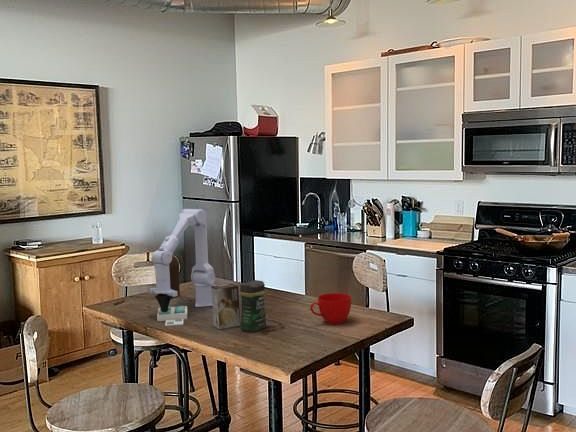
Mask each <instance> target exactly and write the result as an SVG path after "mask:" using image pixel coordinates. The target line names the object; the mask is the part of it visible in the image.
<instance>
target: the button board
mask: <svg viewBox="0 0 576 432" xmlns="http://www.w3.org/2000/svg"><path fill="white" fill-rule="evenodd" d="M183 306H184V313H177V314H175V307H176V306H170V310H168V311H169V312H170V314H164V315H160V312H161V308H160V307H158V310H157V315H156V316H157V317H156V319H157V322H166V320H175V319H183V320H188V306H187V305H183Z"/></svg>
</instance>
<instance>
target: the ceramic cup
mask: <svg viewBox="0 0 576 432" xmlns="http://www.w3.org/2000/svg"><path fill="white" fill-rule="evenodd" d="M314 305H315V306H316V305H317V306H318V310H319V312H320V313H317V312H315V311H314V309H313V306H314ZM351 307H352V296H351V295H350V294H346V293H341V292H340V293H339V292H338V293H337V292H334V293H333V292H331V293H324V294H320V295H318V296H317V302H312V303H311V304H310V307H309V308H310V309H309V310H310V311H311V312H312V314H314V315H315V316H319V317H322V318H323V320H324V321H325V322H326V323H327V324H330V325H340V324H343V323H344V322H345V321H346V319H347V318H348V317H349V315H350V312H351Z"/></svg>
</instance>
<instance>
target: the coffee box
mask: <svg viewBox="0 0 576 432" xmlns="http://www.w3.org/2000/svg"><path fill="white" fill-rule="evenodd" d="M215 285H216V286H211V288H212V304H213V306H212V318H213V327H215V328H216V329H219V330H223V329H229V328H235V327H241V310H240V294H239V292H240V290H239V285H238V284H236V283H233V282H232V283H225V284H215Z"/></svg>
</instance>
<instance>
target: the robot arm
mask: <svg viewBox="0 0 576 432" xmlns="http://www.w3.org/2000/svg"><path fill="white" fill-rule="evenodd" d="M207 225H208V224H207V213H206V212H205V210H204V209H202V208H199V209H197V208H193V209H192V208H183V209H182V210H181V211H180V213H179V214H178V221H177V223H176V225H175V227H174V229H173V231H172V233H171V234H170V235H167V236H165V238H164V240H163V242H162V243H161V245H160V246H159V248H158V249H157V250H155V251H154V252H153V253H152V255H151V258H150V259H151V260H150V261H151V262H152V264H153V268H154V270H155V286H156V287H150V288H149V293H150V294H156V295H155V296H154V297H155V299H156V300H157V303H158V305H159V308H161V311H162V312H167V311H168V306H169V304H170V302H171V299H173V298H172V296H173V297H176V296H178V291H174V290H172V289H170V271H169V264H170V262H171V261H172V255H174V252H175V250H176V248H177V247H178V245H179V244H180V243H179V239H180V238H181V236H182V235H183V233H184V232H185V231H186V230H187V228H188V227H191V228H192V229H193V230H194V244H195V246H194V248H195V265H193V266H192V267H191V274H190V279H191V282H192V284H193V285H194V287H195V303H194V304H195V308H199V307H200V308H201V307H213V304H212V288H211V286H216V285H217V284H215V281H216V274H215V271H214V267H213V266H212V265H211V264H210V263H209V255H208V254H209V252H208V251H209V248H208V226H207ZM176 298H177V297H176Z"/></svg>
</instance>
